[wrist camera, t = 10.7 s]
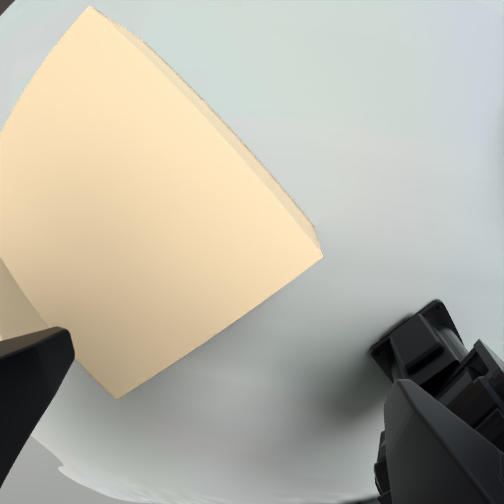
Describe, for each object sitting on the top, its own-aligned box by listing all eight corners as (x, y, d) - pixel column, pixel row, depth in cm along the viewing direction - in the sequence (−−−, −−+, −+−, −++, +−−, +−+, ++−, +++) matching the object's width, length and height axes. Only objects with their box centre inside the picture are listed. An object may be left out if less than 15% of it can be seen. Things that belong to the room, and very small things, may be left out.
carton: (313, 225, 19) (323, 256, 12) (152, 349, 23) (116, 399, 17) (140, 38, 16) (89, 5, 10) (27, 190, 21) (-28, 202, 15)
